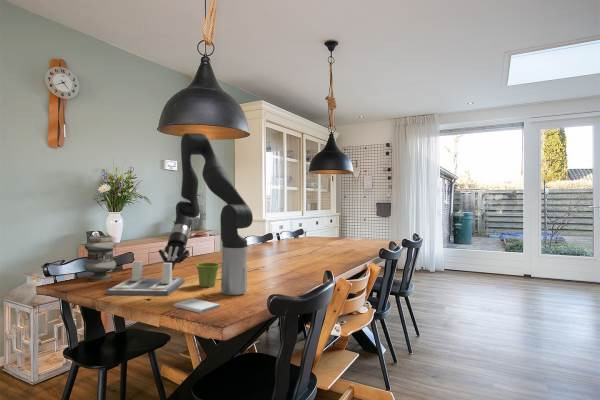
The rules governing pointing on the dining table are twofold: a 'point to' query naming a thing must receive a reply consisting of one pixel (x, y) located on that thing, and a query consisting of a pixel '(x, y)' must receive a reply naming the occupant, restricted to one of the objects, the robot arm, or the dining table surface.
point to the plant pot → (207, 274)
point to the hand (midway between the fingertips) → (168, 270)
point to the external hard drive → (197, 305)
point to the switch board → (145, 287)
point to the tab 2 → (166, 273)
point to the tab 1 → (137, 270)
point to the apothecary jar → (100, 257)
